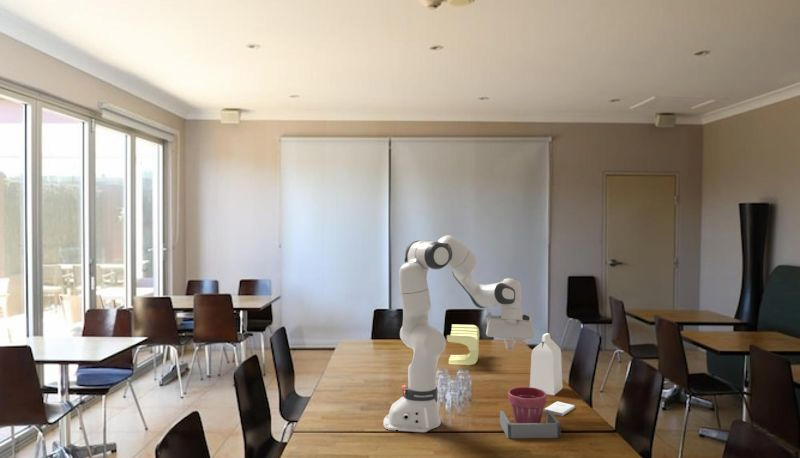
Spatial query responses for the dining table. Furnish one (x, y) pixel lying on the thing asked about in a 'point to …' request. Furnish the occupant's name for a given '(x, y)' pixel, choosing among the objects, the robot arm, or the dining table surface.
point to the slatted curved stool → (465, 343)
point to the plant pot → (527, 404)
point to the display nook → (532, 428)
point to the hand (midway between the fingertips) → (509, 349)
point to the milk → (546, 366)
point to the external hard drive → (560, 408)
